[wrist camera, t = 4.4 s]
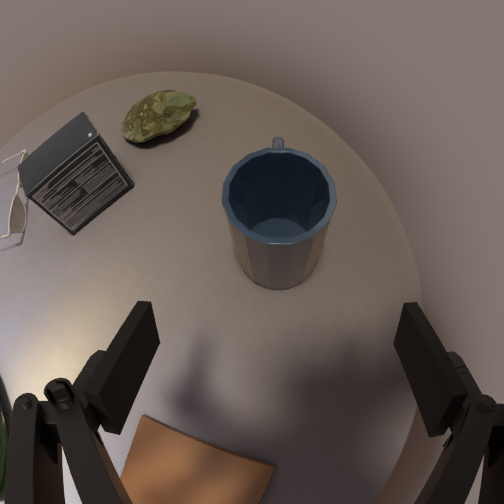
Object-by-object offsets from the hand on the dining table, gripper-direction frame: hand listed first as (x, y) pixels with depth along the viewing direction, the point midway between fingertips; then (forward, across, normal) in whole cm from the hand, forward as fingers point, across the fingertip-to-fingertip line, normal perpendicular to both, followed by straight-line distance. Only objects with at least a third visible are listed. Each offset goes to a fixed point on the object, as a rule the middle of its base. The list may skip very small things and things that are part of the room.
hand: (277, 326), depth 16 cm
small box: (+24, -24, +2) cm, 34 cm away
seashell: (+32, -16, +10) cm, 38 cm away
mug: (+19, 0, -3) cm, 19 cm away
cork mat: (-1, -9, -23) cm, 24 cm away
